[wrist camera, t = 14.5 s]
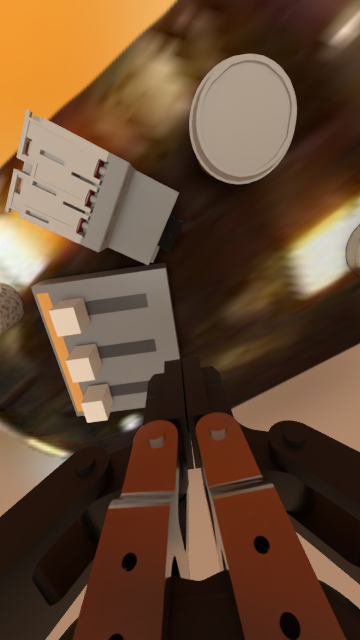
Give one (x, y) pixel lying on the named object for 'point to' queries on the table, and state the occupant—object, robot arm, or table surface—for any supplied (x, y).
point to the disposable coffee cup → (242, 118)
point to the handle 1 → (69, 317)
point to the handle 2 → (97, 403)
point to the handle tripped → (84, 363)
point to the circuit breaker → (90, 194)
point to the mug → (10, 307)
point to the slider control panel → (116, 329)
